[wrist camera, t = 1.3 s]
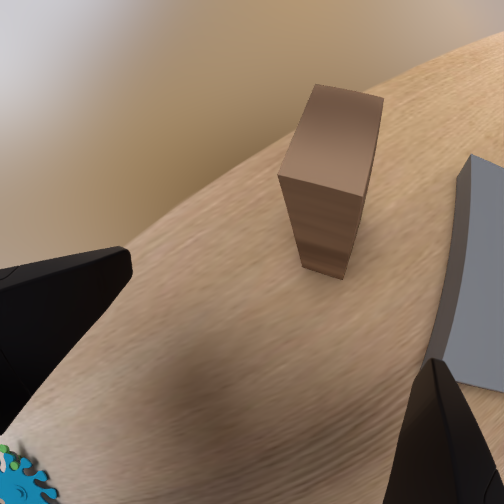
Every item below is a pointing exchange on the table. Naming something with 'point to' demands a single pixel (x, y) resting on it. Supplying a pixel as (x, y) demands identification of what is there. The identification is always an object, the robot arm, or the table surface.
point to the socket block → (474, 282)
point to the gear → (21, 481)
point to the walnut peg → (330, 175)
